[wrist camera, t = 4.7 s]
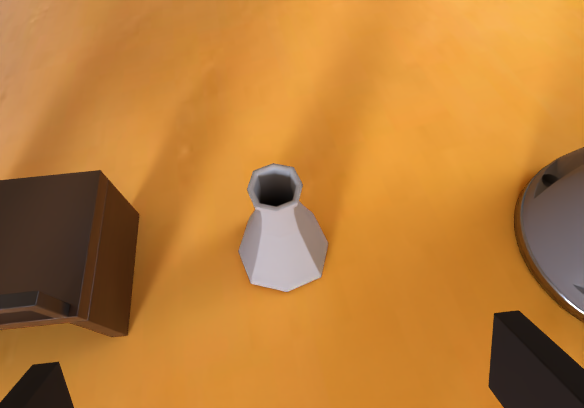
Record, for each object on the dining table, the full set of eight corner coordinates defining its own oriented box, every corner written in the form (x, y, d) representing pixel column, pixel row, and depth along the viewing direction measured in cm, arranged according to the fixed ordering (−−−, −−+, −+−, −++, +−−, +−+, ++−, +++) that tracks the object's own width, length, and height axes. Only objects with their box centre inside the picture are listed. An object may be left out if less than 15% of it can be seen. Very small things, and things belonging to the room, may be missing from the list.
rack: (139, 214, 33) (77, 143, 24) (127, 335, 28) (45, 304, 19) (-26, 231, 32) (-151, 166, 23) (-65, 356, 28) (-239, 335, 19)
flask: (238, 212, 32) (212, 141, 23) (322, 204, 32) (329, 130, 24) (239, 297, 29) (211, 251, 20) (334, 288, 29) (347, 238, 20)
